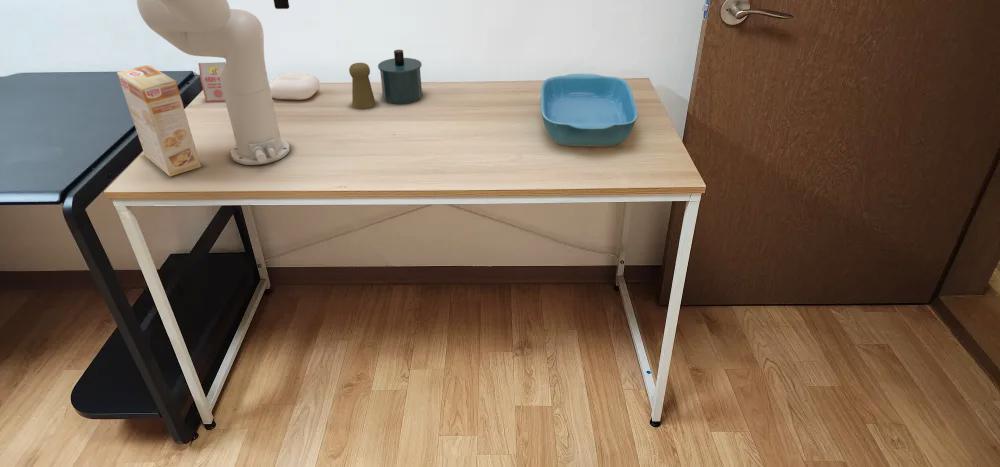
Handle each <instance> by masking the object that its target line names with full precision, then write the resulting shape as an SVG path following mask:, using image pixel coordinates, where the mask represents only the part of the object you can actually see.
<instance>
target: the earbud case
mask: <svg viewBox="0 0 1000 467" xmlns="http://www.w3.org/2000/svg"><path fill="white" fill-rule="evenodd" d="M269 86H270V91H271V95H272V99H273V98H274V99H276V100H293V101H294V100H297V101H298V100H299V101H300V100H301V101H303V100H308V99H310V98H311V97H313V96H314V95H315V94H316V93H317V91H319V89H320V87H321V84H320V79H319V78H318V77H317V76H316V75H313V74H310V73H295V72H294V73H293V72H285V73H280V74H277V75H276V76H274V77H273V78H272V79H271V80H270V81H269Z"/></svg>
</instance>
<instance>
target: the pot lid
mask: <svg viewBox="0 0 1000 467" xmlns="http://www.w3.org/2000/svg"><path fill="white" fill-rule="evenodd" d="M393 57H394V58H388V59H385V60H382V61H381V62H379V63H378V64H377V69H378V70H379V72H380V71H382V72H386V73H394V74H399V73H408V72H413V71H416V70H418V69H419V68H420V69H421V68H422V62H421V61H420V60H419V59H416V58H412V57H405V56H404V50H403V49H395V50H394V51H393Z"/></svg>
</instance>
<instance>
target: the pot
mask: <svg viewBox="0 0 1000 467" xmlns="http://www.w3.org/2000/svg"><path fill="white" fill-rule="evenodd" d="M379 74H380V82H381V89H382V98H383V100H384V102H386V103H388V104H392V105H393V104H394V105H409V104H413V103H416V102H418V101H420V100H421V99H422V98H423V90H422V76H421V68H419V69H418V70H416V71H413V72H408V73H399V74H394V73H386V72H382V71H380V70H379Z"/></svg>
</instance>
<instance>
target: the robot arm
mask: <svg viewBox="0 0 1000 467" xmlns="http://www.w3.org/2000/svg"><path fill="white" fill-rule="evenodd" d="M273 5H274V8H275V9H276V10H288V9H290V1H289V0H273ZM136 6H137V10H138V13H139V14H140V17H141V18H142V20H143V22H144V23H145V24H146V25H147V27H149V28H150V29H151V30H152V31H153V32H154V33H156V34H157V35H159V37H161V38H162V39H164V40H165V41H166V42H168V43H169V44H171V45H172V46H174V47H175V48H176V49H178V50H179V51H180V52H182V53H184V54H187V55H188V56H195V57H206V58H207V57H208V58H221V59H225V63H226V64H225V66H224V68H223V70H222V73H221V76H220V82H221V87H222V91H223V94H224V98H225V101H224V103H225V106H226V110H227V115H228V118H229V121H230V125H231V130H232V133H233V137H234V141H235V146H234V147H233V148H232V149H231V151H230V156H231V159H232V161H234V162H235V163H237V164H240V165H245V166H259V165H267V164H270V163H273V162H277V161H279V160H281V159H283V158H284V157H286V156H287V155H288V154H289V153H290V151H291V146H290V143H289V141H287V140H286V139H284V138H281V133H280V129H279V124H278V119H277V115H276V111H275V105H274V101H273V97H272V95H271V91H270V86H269V82H270V81H269V77H268V72H267V68H266V59H265V38H264V28H263V25H262V23H261V21H260V19H259V18H258V17H257V16H256V15H255V14H254V13H251V12H249V11H247V10H243V9H238V8H237V9H236V8H231V7H230V4H229V2H228V0H136Z"/></svg>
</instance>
